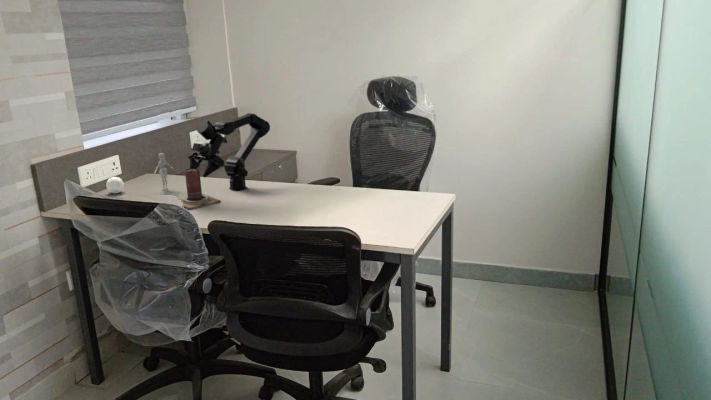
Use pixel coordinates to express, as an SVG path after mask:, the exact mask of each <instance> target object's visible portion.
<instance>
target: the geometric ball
mask: <svg viewBox="0 0 711 400" xmlns="http://www.w3.org/2000/svg"><path fill="white" fill-rule="evenodd" d="M105 183H106V184H105V187H106V189H107V190H108V191H109V193H112V194H118V193H121V192H122V191H123V190H124V188H125V182H124V181H123V179H122V178H121V177H119V176H118V177H117V176H112V177H109V178H108V180H107V181H106V182H105Z"/></svg>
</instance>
